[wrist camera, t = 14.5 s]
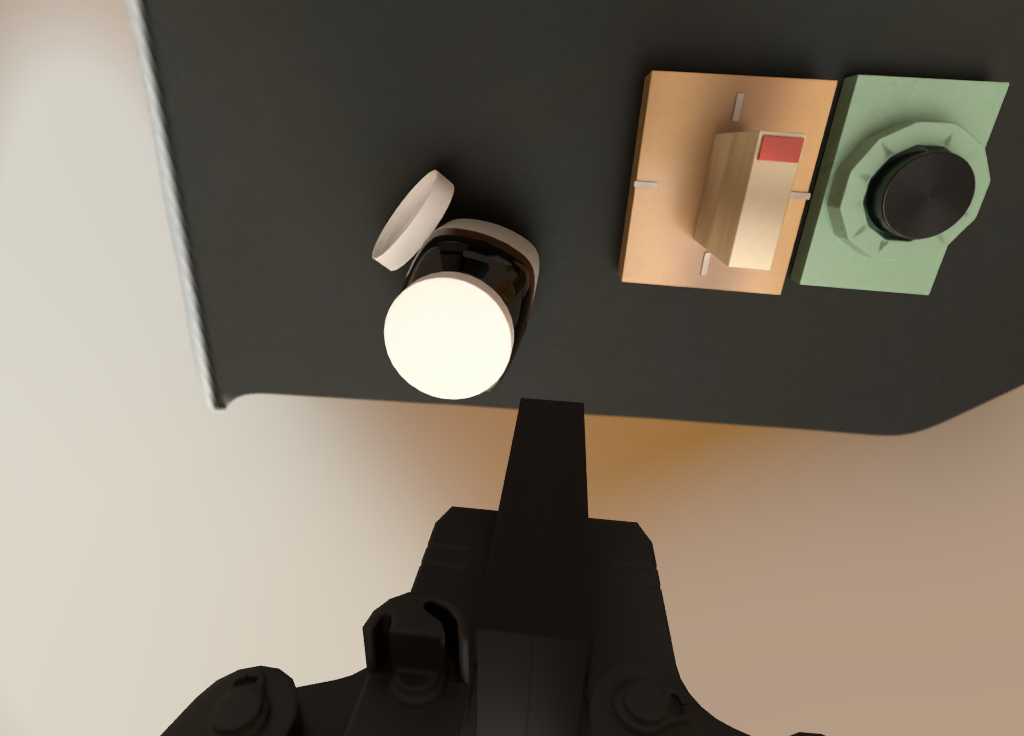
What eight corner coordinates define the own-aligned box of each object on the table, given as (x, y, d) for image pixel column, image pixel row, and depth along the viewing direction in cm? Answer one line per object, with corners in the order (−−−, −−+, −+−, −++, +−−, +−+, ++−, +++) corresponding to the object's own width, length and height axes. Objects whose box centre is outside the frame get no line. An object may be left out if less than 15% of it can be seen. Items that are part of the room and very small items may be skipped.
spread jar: (511, 363, 40) (489, 442, 30) (370, 316, 40) (297, 378, 30) (565, 208, 36) (561, 236, 25) (405, 153, 35) (332, 158, 25)
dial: (726, 242, 32) (772, 272, 25) (692, 239, 33) (729, 268, 25) (750, 136, 30) (809, 133, 23) (714, 133, 30) (762, 129, 23)
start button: (881, 147, 30) (899, 148, 28) (968, 153, 29) (991, 154, 28) (855, 231, 31) (870, 236, 30) (936, 237, 31) (956, 243, 30)
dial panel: (616, 271, 37) (619, 282, 34) (643, 76, 32) (650, 69, 29) (766, 283, 36) (783, 296, 33) (817, 86, 31) (841, 80, 29)
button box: (844, 77, 31) (875, 70, 28) (988, 85, 31) (1036, 78, 27) (789, 278, 36) (810, 291, 33) (913, 288, 35) (947, 303, 32)
